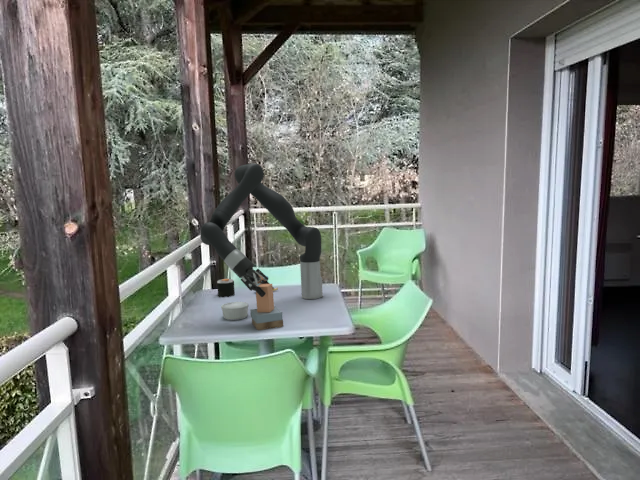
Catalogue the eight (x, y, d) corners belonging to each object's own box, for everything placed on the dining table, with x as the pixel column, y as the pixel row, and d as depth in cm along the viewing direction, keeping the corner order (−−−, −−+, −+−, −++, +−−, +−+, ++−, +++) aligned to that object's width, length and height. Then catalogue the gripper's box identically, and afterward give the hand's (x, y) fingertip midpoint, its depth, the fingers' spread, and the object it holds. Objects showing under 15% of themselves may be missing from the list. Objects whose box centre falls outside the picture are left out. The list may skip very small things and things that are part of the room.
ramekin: (234, 312, 214) (233, 300, 214) (254, 315, 209) (254, 302, 208) (216, 319, 205) (215, 306, 204) (237, 322, 199) (236, 309, 198)
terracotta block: (262, 308, 196) (260, 283, 195) (274, 308, 195) (272, 283, 194) (257, 312, 191) (255, 286, 190) (269, 312, 190) (267, 286, 189)
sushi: (235, 292, 251) (234, 277, 250) (233, 296, 243) (232, 280, 242) (219, 293, 251) (218, 277, 250) (216, 297, 243) (215, 281, 242)
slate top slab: (275, 313, 200) (274, 306, 199) (282, 319, 191) (282, 312, 190) (250, 316, 196) (250, 309, 196) (257, 323, 187) (256, 315, 187)
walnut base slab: (276, 321, 200) (276, 313, 200) (283, 327, 191) (283, 320, 190) (252, 324, 197) (251, 316, 196) (257, 331, 187) (257, 323, 187)
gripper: (237, 259, 186) (267, 290, 184) (252, 253, 199) (280, 282, 198) (225, 273, 188) (255, 304, 186) (240, 266, 201) (268, 295, 200)
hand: (268, 292), depth 192 cm, fingers open, 8 cm apart
